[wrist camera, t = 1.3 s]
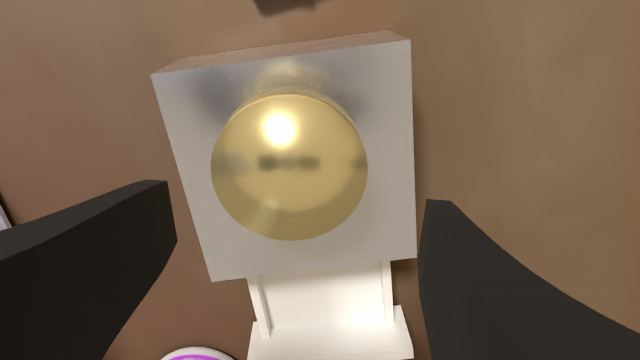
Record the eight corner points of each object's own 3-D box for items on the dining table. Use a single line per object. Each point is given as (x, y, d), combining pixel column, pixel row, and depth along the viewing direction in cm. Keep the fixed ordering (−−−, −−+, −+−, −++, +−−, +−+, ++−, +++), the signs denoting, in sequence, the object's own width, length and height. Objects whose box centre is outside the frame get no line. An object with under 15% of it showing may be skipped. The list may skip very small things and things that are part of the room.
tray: (256, 334, 27) (249, 380, 24) (221, 195, 23) (207, 228, 20) (401, 318, 27) (413, 361, 24) (393, 174, 22) (407, 204, 19)
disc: (236, 226, 17) (229, 248, 15) (204, 96, 14) (192, 108, 13) (367, 210, 17) (373, 231, 15) (355, 76, 14) (361, 86, 13)
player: (228, 231, 24) (203, 304, 18) (183, 57, 20) (133, 82, 14) (398, 210, 24) (425, 278, 18) (388, 29, 20) (420, 44, 14)
